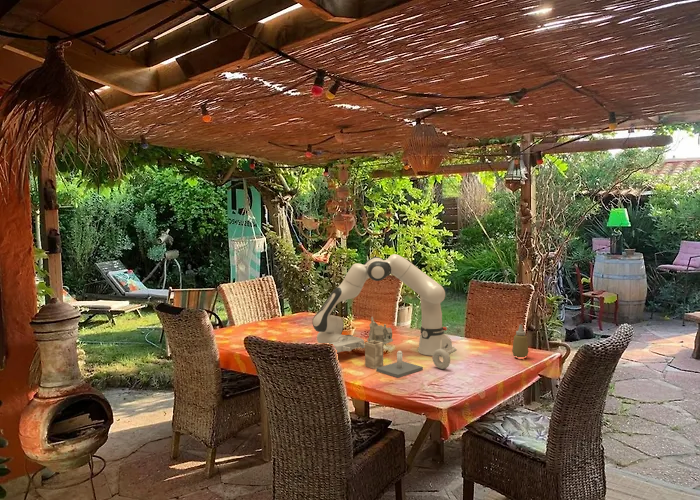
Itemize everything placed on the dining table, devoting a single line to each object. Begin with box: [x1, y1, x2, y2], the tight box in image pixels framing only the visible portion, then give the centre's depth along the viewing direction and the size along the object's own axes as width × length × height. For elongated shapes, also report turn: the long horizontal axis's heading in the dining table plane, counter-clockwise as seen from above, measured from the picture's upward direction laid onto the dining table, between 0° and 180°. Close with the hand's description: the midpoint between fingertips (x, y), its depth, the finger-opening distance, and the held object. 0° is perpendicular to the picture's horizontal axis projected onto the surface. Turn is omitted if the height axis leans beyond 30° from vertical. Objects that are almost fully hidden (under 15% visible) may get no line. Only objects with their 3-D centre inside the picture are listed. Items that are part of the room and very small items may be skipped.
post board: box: [375, 350, 424, 379], centre depth 249 cm, size 18×14×10 cm
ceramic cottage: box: [366, 316, 394, 346], centre depth 306 cm, size 16×16×15 cm
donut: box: [432, 349, 451, 370], centre depth 252 cm, size 10×4×10 cm, turn 43°
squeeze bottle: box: [511, 324, 529, 357], centre depth 269 cm, size 8×8×18 cm
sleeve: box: [364, 340, 384, 370], centre depth 256 cm, size 6×6×12 cm
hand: (357, 347), depth 265 cm, fingers open, 8 cm apart
